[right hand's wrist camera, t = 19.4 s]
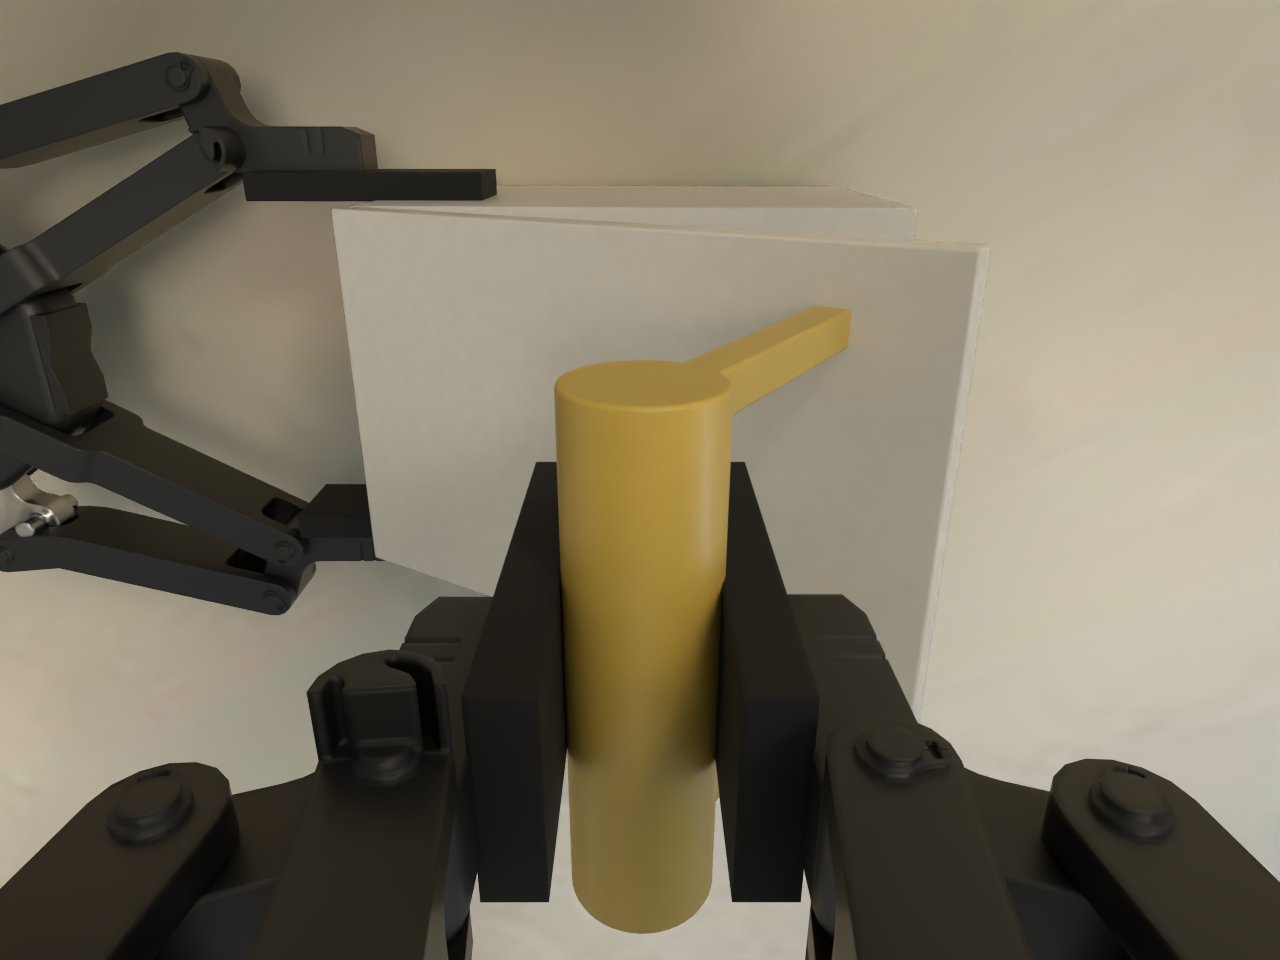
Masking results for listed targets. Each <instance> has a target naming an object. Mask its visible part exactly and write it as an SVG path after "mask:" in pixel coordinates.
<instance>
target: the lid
mask: <svg viewBox="0 0 1280 960" xmlns="http://www.w3.org/2000/svg"><path fill="white" fill-rule="evenodd" d="M331 214H332V222H333V230H334V237H335V245H336V253H337V261H338V269H339V276H340V284H341V292H342V300H343V308H344V315H345V323H346V331H347V339H348V347H349V355H350V362H351V370H352V378H353V386H354V394H355V401H356V409H357V417H358V425H359V433H360V441H361V448H362V456H363V464H364V472H365V480H366V487H367V495H368V503H369V511H370V519H371V526H372V534H373V542H374V550H375V556H376V557H377V558H380V559H383V560H386V561H388V562H391V563H394V564H397V565H400V566H403V567H406V568H409V569H412V570H415V571H418V572H420V573H423V574H426V575H429V576H432V577H435V578H438V579H441V580H444V581H447V582H450V583H452V584H455V585H458V586H461V587H464V588H467V589H470V590H473V591H476V592H479V593H482V594H484V595H487V596H490V597H493V595H494V592H495V589H496V586H497V583H498V580H499V576H500V573H501V570H502V567H503V564H504V561H505V558H506V555H507V551H508V548H509V545H510V542H511V539H512V536H513V533H514V529H515V526H516V523H517V520H518V517H519V514H520V511H521V508H522V504H523V501H524V498H525V495H526V492H527V489H528V486H529V483H530V479H531V476H532V473H533V470H534V467H535V464H536V462H557V485H558V512H559V539H560V566H561V593H562V620H563V647H564V674H565V701H566V728H567V755H568V782H569V809H570V836H571V863H572V881H573V887H574V890H575V893H576V895H577V897H578V899H579V901H580V902H581V904H582V905H583V907H584V908H585V909H586V910H587V911H588V913H589V914H590V915H592V916H593V917H594V918H595V919H596V920H598V921H600V922H601V923H603V924H605V925H607V926H609V927H611V928H614V929H617V930H620V931H624V932H629V933H638V934H645V933H656V932H661V931H665V930H668V929H671V928H673V927H676V926H678V925H680V924H682V923H683V922H685V921H687V920H688V919H689V918H691V917H692V916H693V915H694V914H695V913H696V912H697V911H698V910H699V909H700V907H701V906H702V905H703V903H704V902H705V900H706V898H707V896H708V894H709V891H710V888H711V883H712V867H713V845H714V823H715V802H716V800H717V799H718V798H719V788H718V779H717V771H716V762H715V752H716V729H717V705H718V681H719V657H720V633H721V609H722V585H723V582H724V579H725V576H726V554H727V532H728V509H729V487H730V465H731V462H745V464H746V467H747V470H748V473H749V476H750V480H751V483H752V486H753V489H754V492H755V495H756V498H757V501H758V505H759V508H760V511H761V514H762V517H763V520H764V523H765V526H766V530H767V533H768V536H769V539H770V542H771V545H772V548H773V551H774V555H775V558H776V561H777V564H778V567H779V570H780V573H781V576H782V580H783V583H784V586H785V589H786V592H787V594H842V595H844V596H845V597H846V598H847V599H849V600H850V601H851V602H852V603H854V604H855V605H856V606H857V607H859V608H860V609H861V610H862V611H864V612H865V613H866V614H867V617H868V619H869V621H870V623H871V625H872V627H873V629H874V631H875V633H876V636H877V640H879V642H880V644H881V646H882V648H883V650H884V653H885V657H886V659H888V661H889V663H890V665H891V667H892V669H893V672H894V674H895V676H896V678H897V680H898V682H899V684H900V686H901V688H902V691H903V693H904V695H905V697H906V699H907V701H908V703H909V705H910V707H911V710H912V712H913V714H914V716H915V718H916V720H917V722H919V720H920V714H921V708H922V701H923V694H924V688H925V681H926V675H927V668H928V662H929V655H930V648H931V642H932V635H933V629H934V622H935V616H936V609H937V602H938V596H939V589H940V583H941V576H942V569H943V563H944V556H945V550H946V543H947V537H948V530H949V523H950V517H951V510H952V504H953V497H954V491H955V484H956V477H957V471H958V464H959V458H960V451H961V444H962V438H963V431H964V425H965V418H966V412H967V405H968V398H969V392H970V385H971V379H972V372H973V366H974V359H975V352H976V346H977V339H978V333H979V326H980V319H981V313H982V306H983V300H984V293H985V287H986V280H987V273H988V267H989V260H990V254H991V247H990V246H989V245H987V244H976V243H959V242H942V241H926V240H909V239H892V238H875V237H858V236H841V235H825V234H808V233H791V232H774V231H757V230H741V229H724V228H707V227H690V226H673V225H656V224H640V223H623V222H606V221H589V220H572V219H555V218H539V217H522V216H505V215H488V214H471V213H454V212H438V211H421V210H404V209H387V208H370V207H344V208H334V209H332V210H331Z"/></svg>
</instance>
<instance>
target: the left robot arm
mask: <svg viewBox="0 0 1280 960" xmlns="http://www.w3.org/2000/svg"><path fill="white" fill-rule="evenodd" d="M240 89H241V84H240V79H239V76H238V75H237V73H236V71H235V70H234V68H232V67H231V66H230V65H229V64H228V63H225V62H223V61H220V60H215V59H210V58H205V57H200V56H194V55H189V54H184V53H179V52H173V53H166V54H163V55H160V56H157V57H153V58H150V59H147V60H144V61H141V62H137V63H134V64H131V65H128V66H124V67H121V68H118V69H115V70H112V71H108V72H105V73H102V74H99V75H95V76H92V77H89V78H86V79H83V80H79V81H76V82H73V83H70V84H67V85H63V86H60V87H57V88H54V89H50V90H47V91H44V92H41V93H38V94H34V95H31V96H28V97H25V98H21V99H18V100H15V101H12V102H9V103H5V104H2V105H0V169H7V168H18V167H22V166H27V165H31V164H35V163H38V162H42V161H45V160H48V159H51V158H55V157H58V156H61V155H65V154H68V153H71V152H75V151H78V150H81V149H84V148H88V147H91V146H94V145H98V144H101V143H104V142H108V141H111V140H114V139H118V138H121V137H124V136H127V135H131V134H134V133H137V132H141V131H144V130H147V129H151V128H154V127H157V126H160V125H164V124H167V123H170V122H174V121H177V120H180V119H184V118H185V120H186V122H187V123H188V125H189V127H190V128H189V129H188V130H189V131H190V133H193V135H192V136H190V137H189V138H187V139H186V140H184V141H183V142H181V143H180V144H178V145H177V146H175V147H173V148H172V149H170V150H169V151H167V152H166V153H164V154H163V155H161V156H160V157H158V158H157V159H155V160H154V161H152V162H151V163H149V164H148V165H146V166H144V167H143V168H141V169H140V170H138V171H137V172H135V173H134V174H132V175H131V176H129V177H128V178H126V179H125V180H123V181H122V182H120V183H119V184H117V185H116V186H114V187H112V188H111V189H109V190H108V191H106V192H105V193H103V194H102V195H100V196H99V197H97V198H96V199H94V200H93V201H91V202H90V203H88V204H87V205H85V206H84V207H82V208H80V209H79V210H77V211H76V212H74V213H73V214H71V215H70V216H68V217H67V218H65V219H64V220H62V221H61V222H59V223H58V224H56V225H55V226H53V227H52V228H50V229H48V230H47V231H45V232H44V233H42V234H41V235H39V236H38V237H36V238H35V239H33V240H31V241H30V242H28V243H25V244H23V245H20V246H18V247H15V248H13V249H11V250H9V249H7V248H6V247H4V246H2V245H1V244H0V571H3V572H16V571H29V570H41V569H54V568H61V569H66V570H70V571H75V572H79V573H84V574H88V575H93V576H97V577H102V578H106V579H111V580H115V581H120V582H125V583H129V584H134V585H138V586H143V587H147V588H152V589H156V590H161V591H165V592H170V593H174V594H179V595H183V596H188V597H192V598H197V599H201V600H206V601H211V602H215V603H220V604H224V605H229V606H233V607H238V608H242V609H247V610H251V611H256V612H260V613H265V614H269V615H280V614H284V613H285V612H286V611H287V610H289V608H290V607H291V606H292V604H293V603H294V602H295V600H296V599H297V597H298V596H299V595H300V593H301V592H302V591H303V589H304V588H305V587H306V585H307V584H308V583H309V581H310V580H311V578H312V577H313V576H314V574H315V571H316V564H315V562H316V561H361V560H364V561H373V560H376V561H386V560H383V559H380V558H377V557H376V556H375V550H374V542H373V534H372V526H371V519H370V511H369V503H368V495H367V487H366V484H326V485H325V486H324V487H323V489H322V490H321V491H320V492H319V493H318V494H317V495H316V496H315V498H314V499H313V500H312V501H311V502H310V503H308V502H306V501H304V500H302V499H300V498H297V497H295V496H293V495H291V494H289V493H287V492H284V491H282V490H280V489H278V488H276V487H274V486H272V485H269V484H267V483H265V482H263V481H261V480H259V479H256V478H254V477H252V476H250V475H248V474H246V473H243V472H241V471H239V470H237V469H235V468H233V467H231V466H228V465H226V464H224V463H222V462H220V461H218V460H215V459H213V458H211V457H209V456H207V455H205V454H203V453H200V452H198V451H196V450H194V449H192V448H190V447H187V446H185V445H183V444H181V443H179V442H177V441H175V440H172V439H170V438H168V437H166V436H164V435H162V434H159V433H157V432H155V431H153V430H151V429H149V428H147V427H145V426H144V425H143V422H142V419H141V418H140V417H139V416H138V415H136V414H134V413H132V412H130V411H128V410H126V409H123V408H121V407H119V406H117V405H115V404H113V403H111V402H108V401H106V400H104V399H106V398H108V394H107V389H106V385H105V381H104V377H103V374H102V372H101V370H100V368H99V366H98V364H97V362H96V360H95V358H94V357H93V355H92V352H91V328H92V327H91V323H90V318H89V314H88V310H87V306H86V303H77V302H76V300H75V298H74V297H73V295H72V294H73V293H75V292H76V291H78V290H80V289H81V288H83V287H84V286H86V285H87V284H89V283H91V282H92V281H94V280H95V279H97V278H98V277H100V276H102V275H103V274H105V273H106V272H107V271H108V268H109V267H110V266H112V265H113V264H115V263H117V262H118V261H120V260H121V259H123V258H124V257H126V256H128V255H129V254H131V253H132V252H134V251H135V250H137V249H139V248H140V247H142V246H143V245H145V244H146V243H148V242H150V241H151V240H153V239H154V238H156V237H157V236H159V235H161V234H162V233H164V232H165V231H167V230H168V229H170V228H172V227H173V226H175V225H176V224H178V223H179V222H181V221H183V220H184V219H186V218H187V217H189V216H190V215H192V214H194V213H195V212H197V211H198V210H200V209H201V208H203V207H205V206H206V205H208V204H209V203H211V202H213V201H214V200H216V199H217V198H219V197H220V196H222V195H224V194H225V193H227V192H228V191H230V190H231V189H233V188H235V187H236V186H238V185H239V184H241V183H242V182H243V183H244V189H245V195H246V201H375V200H396V201H483V200H485V199H488V198H490V197H492V196H495V195H497V186H496V169H378V165H377V156H376V147H375V137H374V134H371V133H369V132H366V131H364V130H361V129H359V128H357V127H271V126H267V125H265V124H262V123H261V122H259V121H258V120H256V119H255V118H254V116H253V115H252V114H251V113H250V111H249V110H248V108H247V106H246V104H245V102H244V100H243V98H242V96H241V94H240ZM82 432H83V433H82ZM81 433H82V434H81ZM38 469H40V470H42V471H44V472H47V473H49V474H51V475H53V476H56V477H58V478H60V479H62V480H65V481H68V482H75V483H82V482H90V483H94V484H97V485H99V486H101V487H104V488H106V489H108V490H110V491H113V492H115V493H117V494H119V495H122V496H124V497H126V498H128V499H130V500H133V501H135V502H137V503H139V504H142V505H144V506H146V507H148V508H151V509H153V510H155V511H157V512H160V513H162V514H164V515H166V516H169V517H171V518H173V519H175V520H177V521H180V522H182V523H184V524H186V525H183V524H179V523H175V522H170V521H166V520H162V519H157V518H153V517H148V516H144V515H140V514H135V513H131V512H127V511H122V510H118V509H112V508H107V507H98V506H78V501H77V499H76V498H75V497H74V496H72V495H69V494H64V495H63V496H60V495H56V494H50V493H46V492H43V491H41V490H40V489H38V488H37V487H36V486H35V485H34V484H33V483H32V481H31V479H30V477H29V476H30V475H31V474H33V473H34V472H35V471H36V470H38ZM188 525H189V526H188Z"/></svg>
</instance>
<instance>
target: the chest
mask: <svg viewBox="0 0 1280 960" xmlns="http://www.w3.org/2000/svg"><path fill="white" fill-rule="evenodd" d="M496 186H497V195H495V196H492V197H490V198H488V199H485V200H483V201H396V200H375V201H371V202H366V203H362V204H358V205H353V206H350V207H370V208H387V209H404V210H421V211H438V212H454V213H471V214H488V215H505V216H522V217H539V218H555V219H572V220H589V221H606V222H623V223H640V224H656V225H673V226H690V227H707V228H724V229H741V230H757V231H774V232H791V233H808V234H825V235H841V236H858V237H875V238H892V239H909V240H914V235H915V226H916V218H917V208H915V207H911V206H907V205H904V204H900V203H896V202H893V201H889V200H885V199H881V198H878V197H874V196H870V195H866V194H863V193H859V192H855V191H851V190H848V189H844V188H840V187H837V186H507V185H496Z"/></svg>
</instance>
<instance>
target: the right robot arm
mask: <svg viewBox="0 0 1280 960" xmlns="http://www.w3.org/2000/svg"><path fill="white" fill-rule="evenodd" d="M307 697H308V703H309V709H310V715H311V720H312V726H313V732H314V737H315V743H316V749H317V754H318V760H319V762H318V765H317V767H316V770H315V772H314V773H312V774H309V775H307V776H305V777H303V778H299V779H296V780H293V781H289V782H286V783H283V784H279V785H274V786H270V787H265V788H261V789H257V790H252V791H248V792H243V793H239V794H234V795H232V793H231V789H230V784H229V780H228V779H227V778H226V777H225V776H224V775H223V774H222V773H221V772H220V771H219V770H218V769H217V768H215V767H211V766H208V765H204V764H201V763H197V762H191V763H169V764H165V765H161V766H158V767H154V768H150V769H146V770H143V771H139V772H137V773H135V774H133V775H131V776H129V777H127V778H125V779H123V780H121V781H119V782H117V783H115V784H113V785H111V786H109V787H108V788H107V789H106V790H104V791H103V792H102V793H100V794H99V795H98V796H96V797H95V798H94V799H93V800H91V801H90V802H89V803H87V804H86V805H85V806H84V807H83V808H82V809H81V810H80V811H79V812H78V813H77V814H76V815H75V816H74V817H73V818H72V819H71V820H70V821H69V822H68V823H67V824H66V825H65V826H64V827H63V828H62V829H61V830H60V831H59V832H58V833H57V834H56V835H55V836H54V837H53V838H52V839H51V840H50V841H49V842H48V843H47V844H46V845H45V846H43V847H42V848H41V849H40V850H39V851H38V852H37V853H36V854H35V855H34V856H33V857H32V858H31V859H30V860H29V861H28V862H27V863H26V864H25V865H24V866H23V867H22V868H21V869H20V870H19V871H18V872H17V873H16V874H15V875H14V876H13V877H12V878H11V879H10V880H9V881H8V882H7V883H6V884H5V885H4V886H3V887H2V888H1V889H0V960H471V957H472V946H473V938H472V928H471V918H470V908H469V907H470V903H471V898H472V894H473V889H474V885H475V880H476V875H477V872H478V882H479V893H480V902H549V896H550V888H551V880H552V871H553V863H554V854H555V846H556V837H557V829H558V821H559V812H560V804H561V795H562V787H563V778H564V770H565V762H566V753H567V728H566V701H565V674H564V647H563V620H562V593H561V566H560V539H559V512H558V485H557V462H536V464H535V467H534V470H533V473H532V476H531V479H530V483H529V486H528V489H527V492H526V495H525V498H524V501H523V504H522V508H521V511H520V514H519V517H518V520H517V523H516V526H515V529H514V533H513V536H512V539H511V542H510V545H509V548H508V551H507V555H506V558H505V561H504V564H503V567H502V570H501V573H500V576H499V580H498V583H497V586H496V589H495V592H494V595H493V597H438V598H437V599H436V600H435V601H433V602H432V603H431V604H430V605H428V606H427V607H426V608H425V609H424V610H422V611H421V612H420V613H419V614H417V615H416V616H415V618H414V620H413V622H412V624H411V626H410V628H409V631H408V633H407V635H406V637H405V643H402V645H401V648H400V650H384V651H378V652H371V653H365V654H361V655H358V656H356V657H353V658H350V659H348V660H345V661H342V662H340V663H338V664H336V665H335V666H333V667H332V668H330V669H329V670H327V671H326V672H324V673H323V674H321V675H320V676H318V678H317V679H316V680H315V682H314V683H313V684H312V686H311V687H310V688H309V689H308V691H307ZM715 762H716V771H717V779H718V788H719V796H720V804H721V813H722V821H723V830H724V838H725V846H726V855H727V863H728V871H729V880H730V888H731V897H732V902H801V892H802V882H803V871H805V876H806V880H807V885H808V889H809V894H810V898H811V908H810V918H809V928H808V938H807V948H806V957H805V960H1280V882H1279V881H1278V880H1277V879H1276V878H1275V877H1274V876H1273V875H1272V874H1271V873H1270V872H1269V871H1268V870H1267V869H1266V868H1264V867H1263V866H1262V865H1261V864H1260V863H1259V862H1258V861H1257V860H1256V859H1255V858H1254V857H1253V856H1252V855H1251V854H1250V853H1249V852H1248V851H1247V850H1246V849H1245V848H1244V847H1243V846H1242V845H1241V844H1240V843H1239V842H1238V841H1237V840H1236V839H1235V838H1234V837H1233V836H1232V835H1231V834H1230V833H1229V832H1228V831H1227V830H1225V829H1224V828H1223V827H1222V826H1221V825H1220V824H1219V823H1218V822H1217V821H1216V820H1215V819H1214V818H1213V817H1212V816H1211V815H1210V814H1209V813H1208V812H1207V811H1206V810H1205V809H1204V808H1203V807H1202V806H1201V805H1200V804H1199V803H1198V802H1197V801H1196V800H1195V799H1193V798H1192V797H1191V796H1189V795H1188V794H1187V793H1185V792H1184V791H1183V790H1181V789H1180V788H1179V787H1177V786H1176V785H1175V784H1174V783H1172V782H1171V781H1169V780H1167V779H1165V778H1163V777H1160V776H1158V775H1156V774H1154V773H1152V772H1150V771H1148V770H1146V769H1144V768H1141V767H1138V766H1134V765H1130V764H1126V763H1122V762H1119V761H1115V760H1103V759H1083V760H1080V761H1076V762H1073V763H1069V764H1065V765H1064V766H1063V767H1062V768H1061V769H1060V770H1059V771H1058V773H1057V774H1056V775H1055V776H1054V777H1053V781H1052V785H1051V790H1050V792H1049V791H1044V790H1040V789H1035V788H1031V787H1027V786H1022V785H1018V784H1013V783H1009V782H1004V781H1000V780H997V779H993V778H990V777H987V776H983V775H980V774H977V773H975V772H973V771H971V770H968V769H966V768H964V766H963V763H962V761H961V759H960V757H959V756H958V754H957V753H956V751H955V750H954V748H953V747H952V745H951V744H950V743H949V742H948V741H947V740H945V739H944V738H943V737H941V736H940V735H939V734H937V733H936V732H935V731H933V730H932V729H930V728H928V727H926V726H923V725H921V724H919V723H918V722H917V720H916V718H915V716H914V714H913V712H912V710H911V707H910V705H909V703H908V701H907V699H906V697H905V695H904V693H903V691H902V688H901V686H900V684H899V682H898V680H897V678H896V676H895V674H894V672H893V669H892V667H891V665H890V663H889V661H888V659H886V657H885V653H884V650H883V648H882V646H881V644H880V642H879V640H877V636H876V633H875V631H874V629H873V627H872V625H871V623H870V621H869V619H868V617H867V614H866V613H865V612H864V611H862V610H861V609H860V608H859V607H857V606H856V605H855V604H854V603H852V602H851V601H850V600H849V599H847V598H846V597H845V596H844V595H842V594H787V592H786V589H785V586H784V583H783V580H782V576H781V573H780V570H779V567H778V564H777V561H776V558H775V555H774V551H773V548H772V545H771V542H770V539H769V536H768V533H767V530H766V526H765V523H764V520H763V517H762V514H761V511H760V508H759V505H758V501H757V498H756V495H755V492H754V489H753V486H752V483H751V480H750V476H749V473H748V470H747V467H746V464H745V462H731V465H730V487H729V509H728V532H727V554H726V576H725V579H724V582H723V585H722V609H721V633H720V657H719V681H718V705H717V729H716V752H715Z"/></svg>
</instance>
